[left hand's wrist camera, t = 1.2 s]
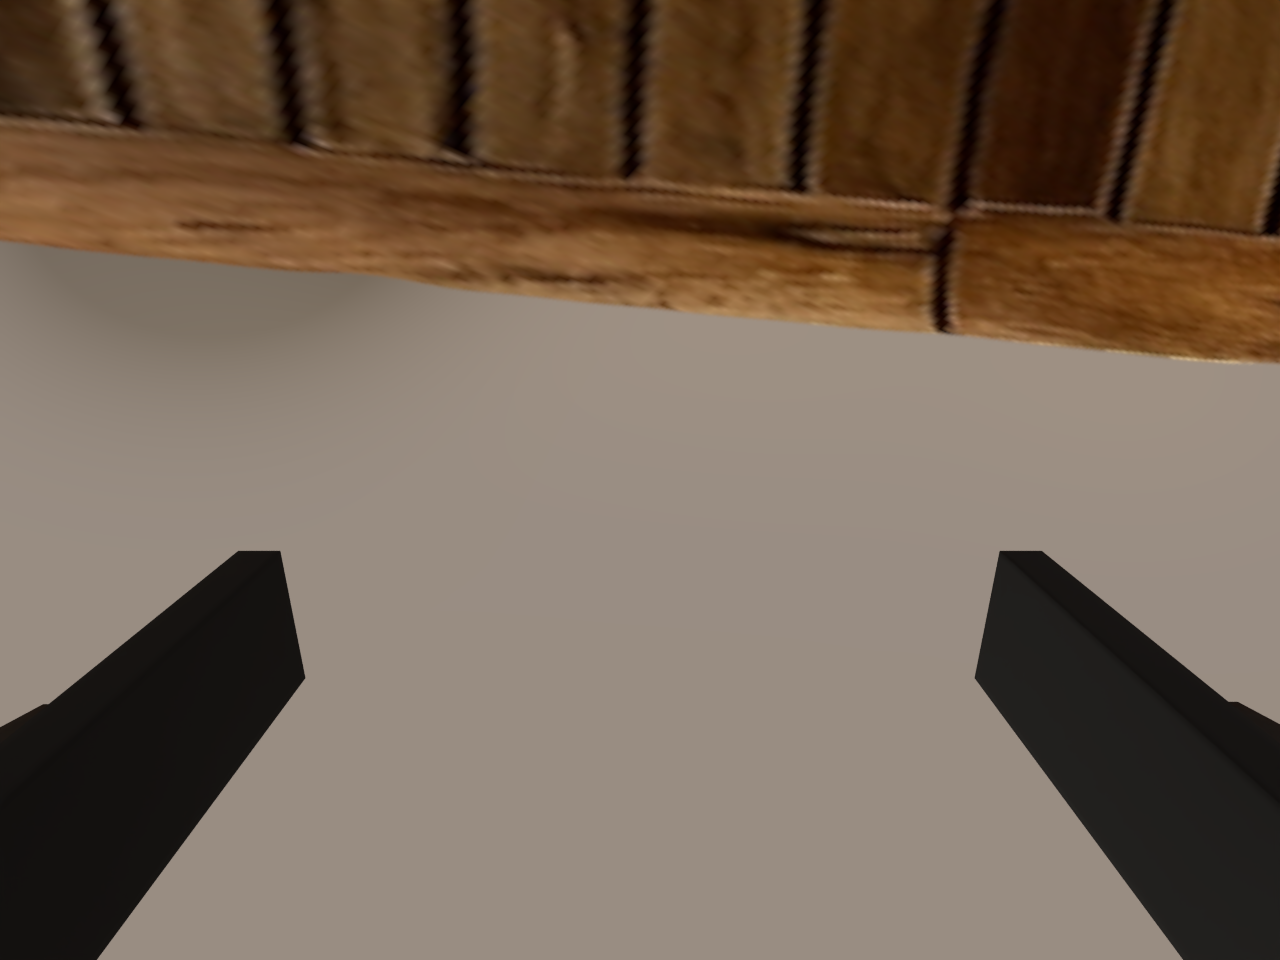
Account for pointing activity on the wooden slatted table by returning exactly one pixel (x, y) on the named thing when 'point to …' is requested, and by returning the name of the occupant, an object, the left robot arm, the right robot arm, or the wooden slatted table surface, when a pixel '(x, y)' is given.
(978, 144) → the wooden slatted table surface
